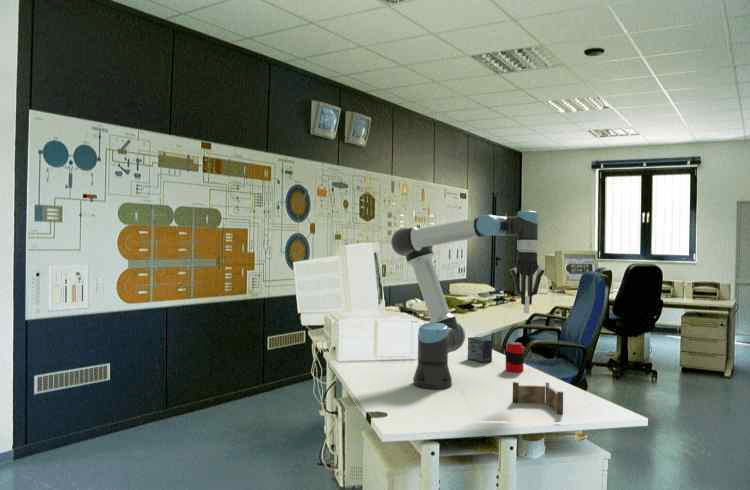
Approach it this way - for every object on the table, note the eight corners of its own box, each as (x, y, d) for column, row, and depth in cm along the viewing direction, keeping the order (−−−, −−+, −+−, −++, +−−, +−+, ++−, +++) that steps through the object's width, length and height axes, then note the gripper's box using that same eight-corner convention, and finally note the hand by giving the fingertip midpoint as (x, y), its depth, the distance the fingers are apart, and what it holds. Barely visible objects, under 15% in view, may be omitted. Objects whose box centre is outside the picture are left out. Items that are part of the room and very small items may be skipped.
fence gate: (544, 402, 193) (544, 382, 193) (549, 402, 193) (549, 382, 193) (558, 414, 180) (558, 392, 180) (563, 414, 180) (564, 392, 180)
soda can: (507, 367, 247) (507, 341, 247) (524, 369, 245) (524, 342, 244) (504, 371, 240) (504, 344, 240) (522, 373, 238) (522, 345, 237)
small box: (492, 361, 259) (493, 339, 259) (482, 363, 256) (483, 340, 255) (476, 357, 268) (477, 336, 268) (466, 359, 264) (467, 337, 264)
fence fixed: (513, 403, 192) (513, 383, 192) (511, 401, 194) (512, 381, 194) (545, 404, 192) (545, 384, 191) (543, 402, 194) (544, 382, 193)
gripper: (512, 251, 207) (511, 314, 208) (547, 251, 207) (546, 314, 207) (507, 251, 215) (507, 311, 215) (541, 251, 215) (540, 312, 215)
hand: (526, 313), depth 211 cm, fingers closed
